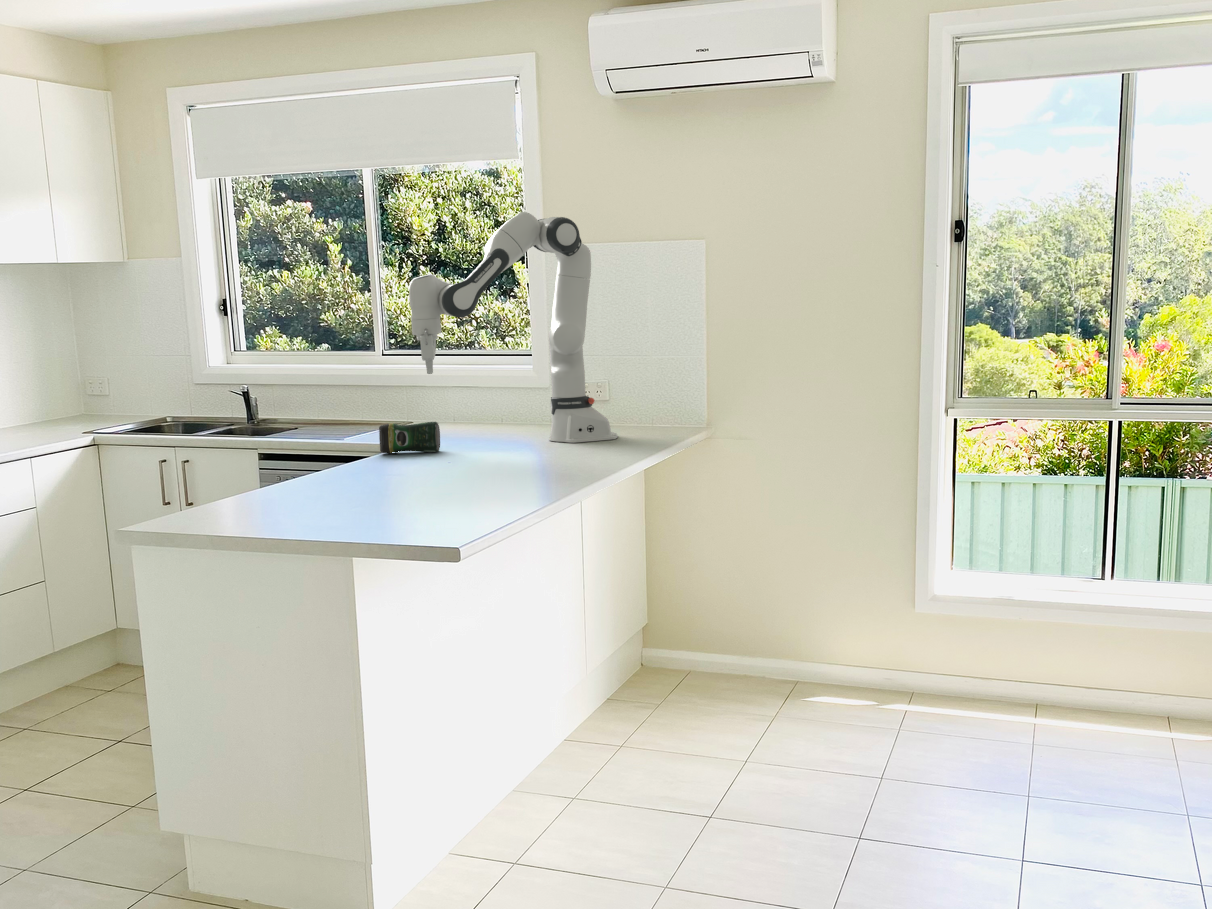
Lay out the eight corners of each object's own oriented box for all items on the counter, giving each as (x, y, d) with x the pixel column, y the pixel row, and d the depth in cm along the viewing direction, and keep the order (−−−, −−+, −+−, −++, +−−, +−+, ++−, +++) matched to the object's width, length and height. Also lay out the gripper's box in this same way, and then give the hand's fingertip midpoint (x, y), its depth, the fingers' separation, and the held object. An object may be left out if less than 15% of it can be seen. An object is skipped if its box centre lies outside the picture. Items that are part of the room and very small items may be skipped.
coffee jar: (440, 421, 346) (381, 423, 346) (436, 421, 338) (376, 423, 338) (441, 452, 347) (382, 453, 347) (437, 453, 339) (377, 454, 339)
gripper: (436, 329, 325) (439, 375, 327) (437, 327, 345) (440, 370, 347) (414, 330, 324) (418, 376, 326) (417, 328, 344) (420, 372, 347)
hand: (430, 373), depth 337 cm, fingers closed
